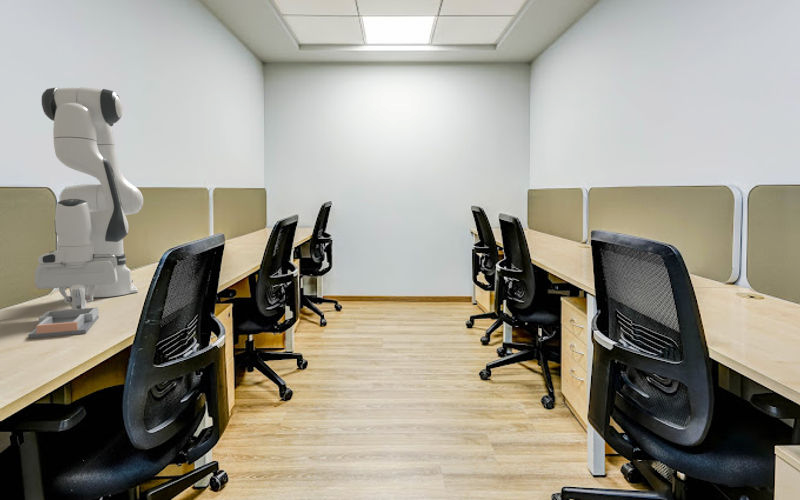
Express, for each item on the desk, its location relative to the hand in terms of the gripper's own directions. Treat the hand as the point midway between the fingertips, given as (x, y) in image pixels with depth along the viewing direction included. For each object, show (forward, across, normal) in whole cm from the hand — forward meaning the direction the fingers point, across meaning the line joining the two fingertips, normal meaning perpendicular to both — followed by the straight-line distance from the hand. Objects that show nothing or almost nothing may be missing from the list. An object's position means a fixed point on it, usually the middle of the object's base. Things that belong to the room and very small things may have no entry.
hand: (79, 301), depth 144 cm
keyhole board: (+4, 0, +16) cm, 17 cm away
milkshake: (+4, 0, 0) cm, 4 cm away
